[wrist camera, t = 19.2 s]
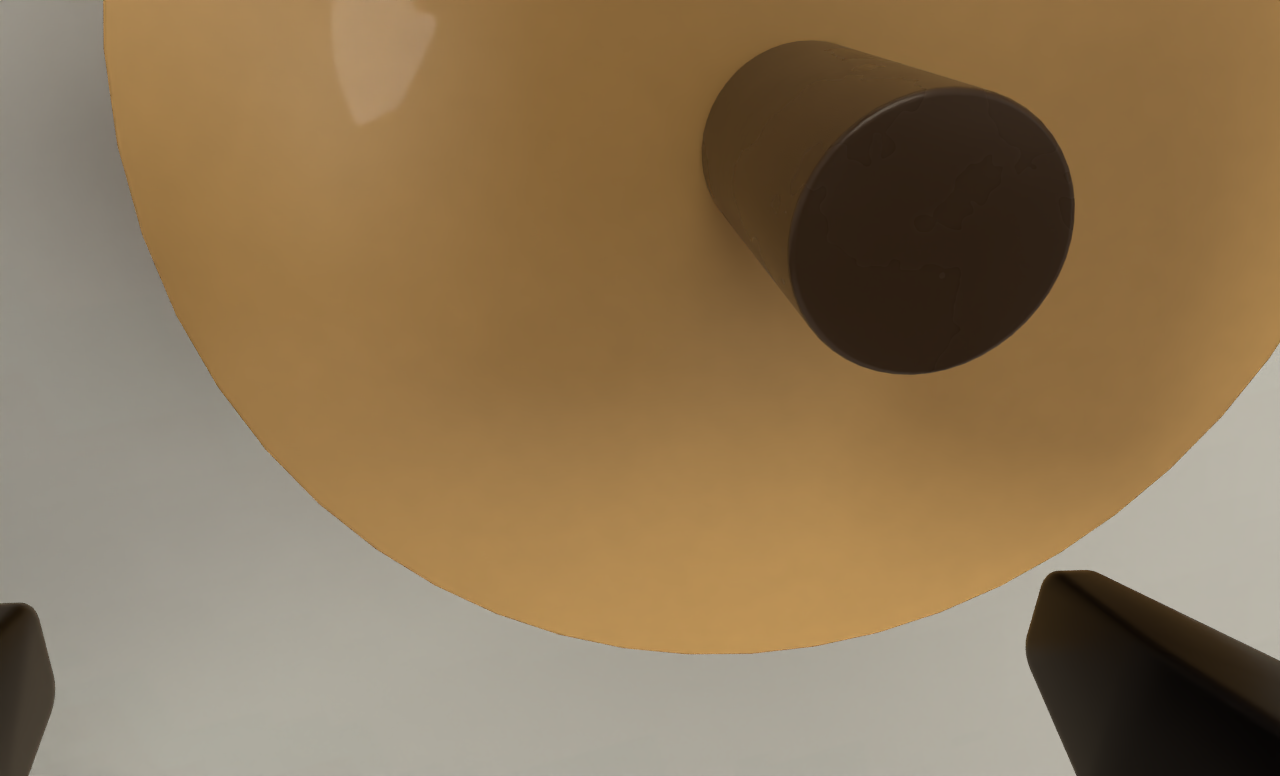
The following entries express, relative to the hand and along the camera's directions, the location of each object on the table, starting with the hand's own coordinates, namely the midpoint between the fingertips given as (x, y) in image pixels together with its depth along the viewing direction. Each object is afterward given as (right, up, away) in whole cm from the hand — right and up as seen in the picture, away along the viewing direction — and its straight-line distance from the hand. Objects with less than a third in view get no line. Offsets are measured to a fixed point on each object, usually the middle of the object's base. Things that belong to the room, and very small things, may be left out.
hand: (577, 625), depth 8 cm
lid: (+2, +5, +3) cm, 7 cm away
